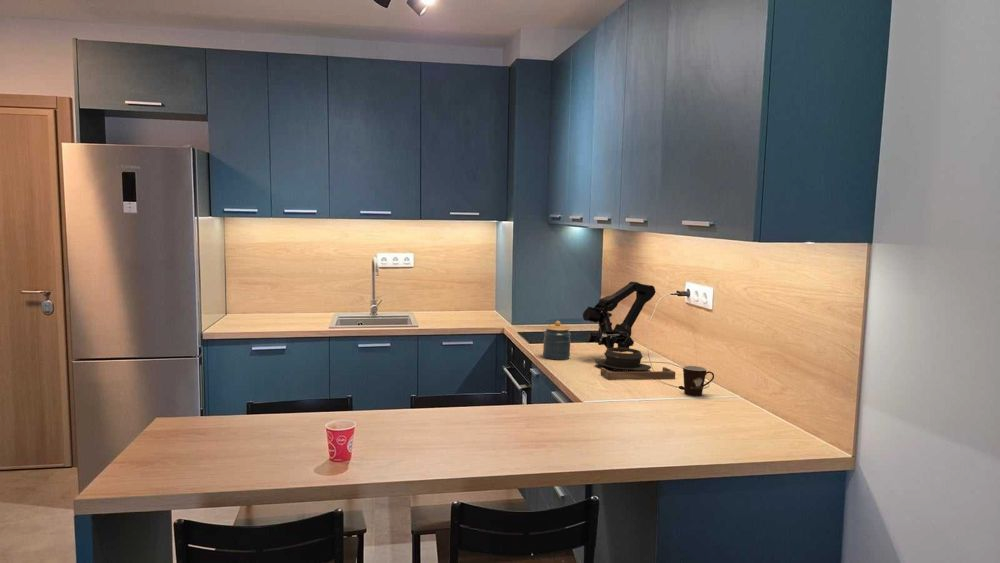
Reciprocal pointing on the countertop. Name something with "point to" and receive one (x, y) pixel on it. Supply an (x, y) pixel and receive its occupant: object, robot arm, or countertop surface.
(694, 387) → the coffee mug
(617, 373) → the stop frame
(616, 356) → the casserole
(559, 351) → the canister
